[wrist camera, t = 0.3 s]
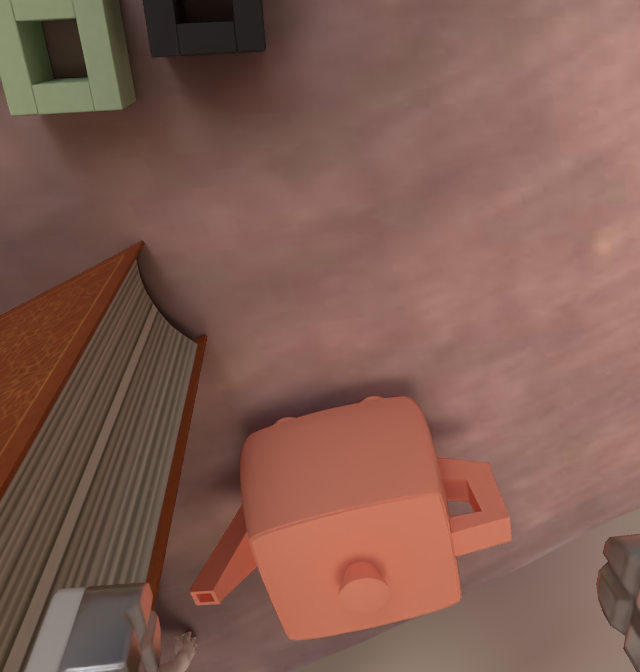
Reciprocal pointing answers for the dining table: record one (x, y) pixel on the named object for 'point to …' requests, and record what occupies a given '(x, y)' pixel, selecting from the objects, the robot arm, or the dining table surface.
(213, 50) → the black hollow square block
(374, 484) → the teapot
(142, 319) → the book
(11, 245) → the dining table surface
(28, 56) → the green hollow square block
